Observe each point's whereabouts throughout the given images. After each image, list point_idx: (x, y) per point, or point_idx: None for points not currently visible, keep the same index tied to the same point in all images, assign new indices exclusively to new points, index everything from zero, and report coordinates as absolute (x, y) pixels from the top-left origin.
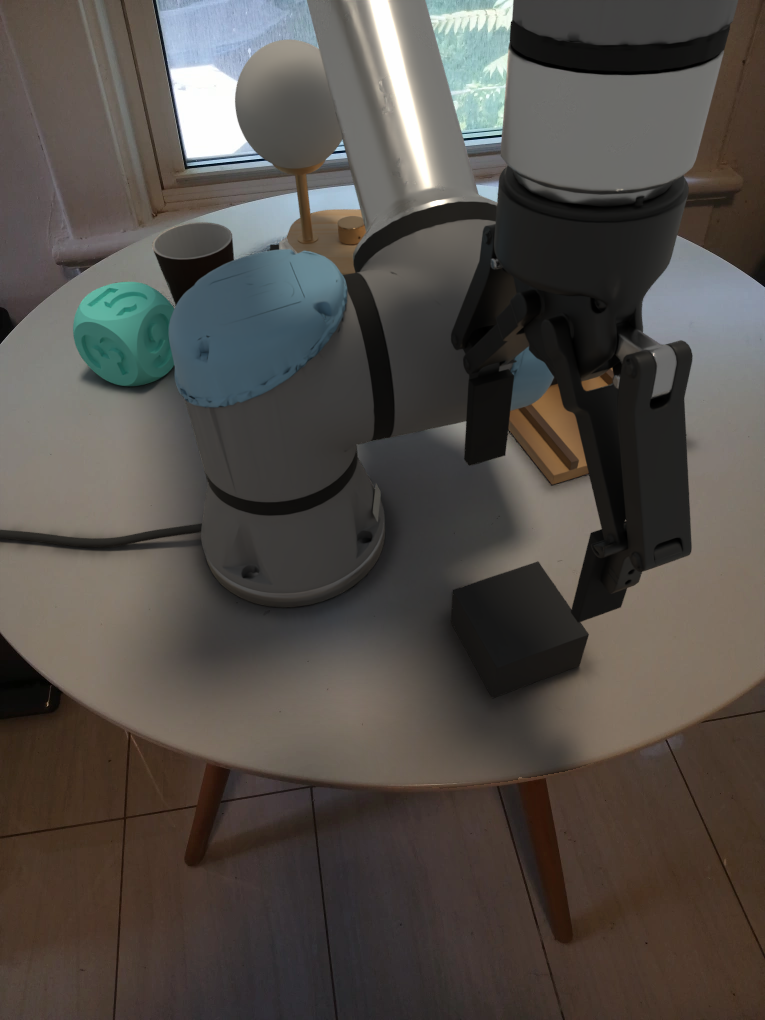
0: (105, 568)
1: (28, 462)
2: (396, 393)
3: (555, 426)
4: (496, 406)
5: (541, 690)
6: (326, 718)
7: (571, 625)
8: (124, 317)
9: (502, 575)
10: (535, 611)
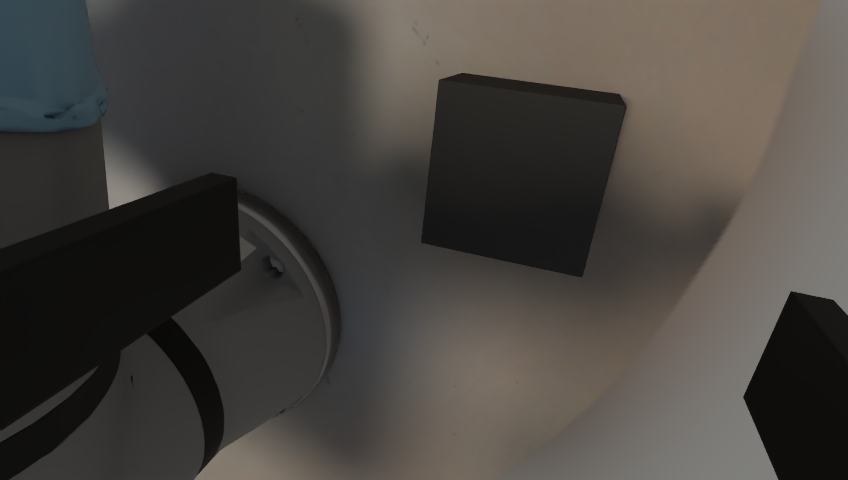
0: (213, 464)
1: None
2: (5, 435)
3: None
4: (92, 289)
5: (616, 175)
6: (488, 406)
7: (590, 120)
8: None
9: (435, 157)
10: (528, 157)
